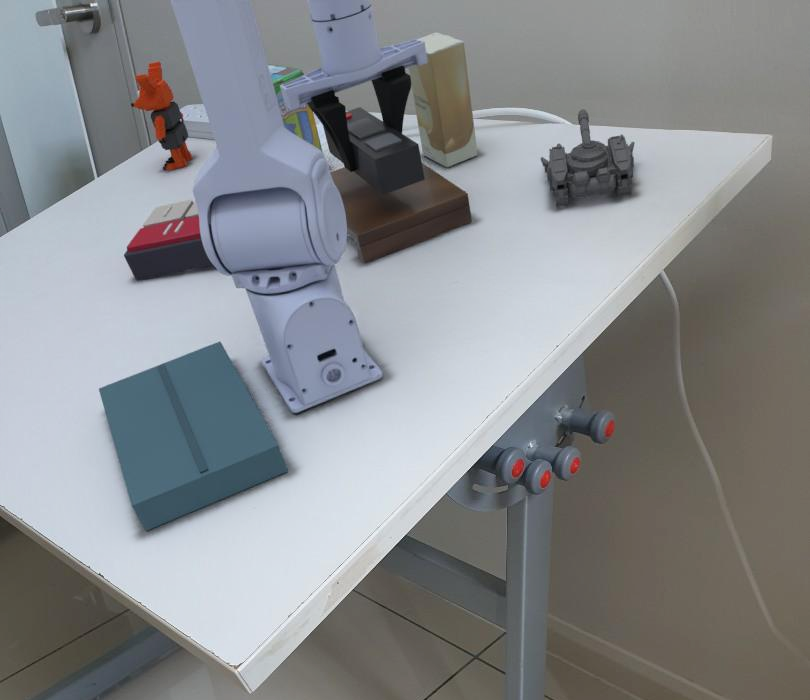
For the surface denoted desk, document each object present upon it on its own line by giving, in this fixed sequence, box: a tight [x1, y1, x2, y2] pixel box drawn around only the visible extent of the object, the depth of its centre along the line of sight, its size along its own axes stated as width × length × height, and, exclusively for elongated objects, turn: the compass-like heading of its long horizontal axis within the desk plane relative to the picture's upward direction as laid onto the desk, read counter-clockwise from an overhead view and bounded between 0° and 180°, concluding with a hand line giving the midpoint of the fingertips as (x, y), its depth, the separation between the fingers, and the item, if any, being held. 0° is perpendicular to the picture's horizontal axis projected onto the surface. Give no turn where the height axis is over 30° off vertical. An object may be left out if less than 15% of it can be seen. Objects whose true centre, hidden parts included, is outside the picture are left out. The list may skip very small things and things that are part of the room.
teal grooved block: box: [98, 341, 289, 532], centre depth 69 cm, size 18×11×3 cm, turn 23°
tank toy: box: [540, 109, 635, 207], centre depth 87 cm, size 12×10×5 cm
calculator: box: [123, 199, 214, 281], centre depth 95 cm, size 11×4×15 cm
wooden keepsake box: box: [330, 162, 473, 264], centre depth 92 cm, size 18×12×3 cm, turn 23°
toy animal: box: [130, 61, 193, 171], centre depth 116 cm, size 8×6×12 cm
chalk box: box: [268, 63, 323, 152], centre depth 103 cm, size 9×9×15 cm
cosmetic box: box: [408, 31, 478, 168], centre depth 98 cm, size 6×4×12 cm
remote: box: [322, 106, 425, 195], centre depth 89 cm, size 16×4×4 cm, turn 23°
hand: (373, 160), depth 89 cm, fingers closed on remote, 4 cm apart
